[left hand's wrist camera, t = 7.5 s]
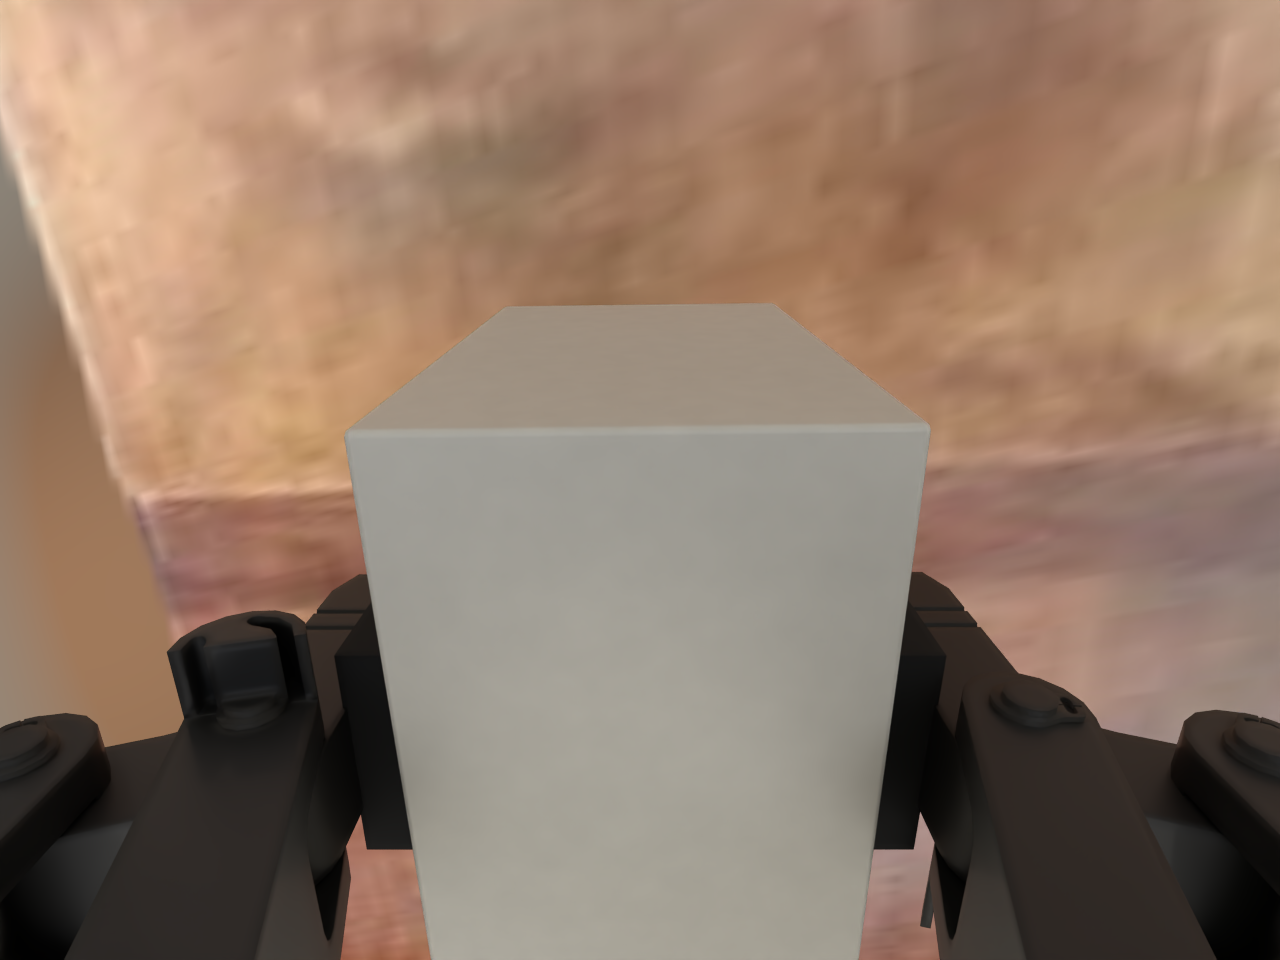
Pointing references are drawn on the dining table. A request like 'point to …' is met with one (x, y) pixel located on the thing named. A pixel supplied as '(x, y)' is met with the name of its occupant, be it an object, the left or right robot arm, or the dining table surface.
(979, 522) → the dining table surface
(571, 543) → the post
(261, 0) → the dining table surface
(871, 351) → the dining table surface
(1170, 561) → the dining table surface
